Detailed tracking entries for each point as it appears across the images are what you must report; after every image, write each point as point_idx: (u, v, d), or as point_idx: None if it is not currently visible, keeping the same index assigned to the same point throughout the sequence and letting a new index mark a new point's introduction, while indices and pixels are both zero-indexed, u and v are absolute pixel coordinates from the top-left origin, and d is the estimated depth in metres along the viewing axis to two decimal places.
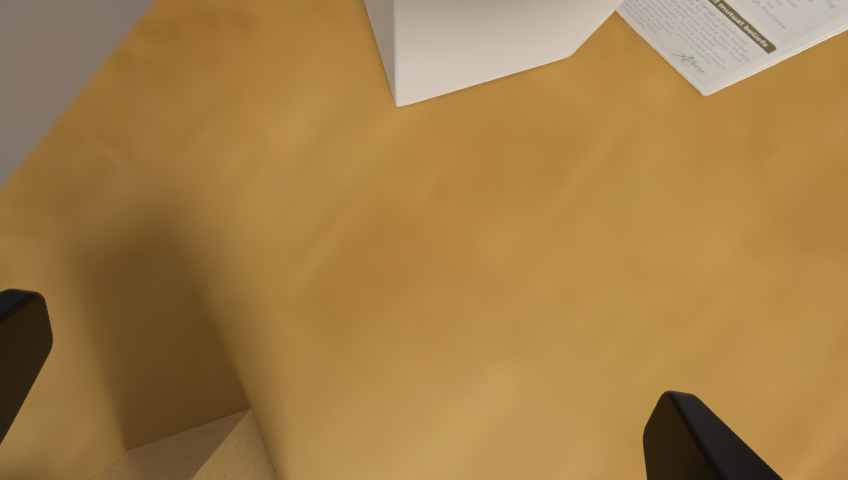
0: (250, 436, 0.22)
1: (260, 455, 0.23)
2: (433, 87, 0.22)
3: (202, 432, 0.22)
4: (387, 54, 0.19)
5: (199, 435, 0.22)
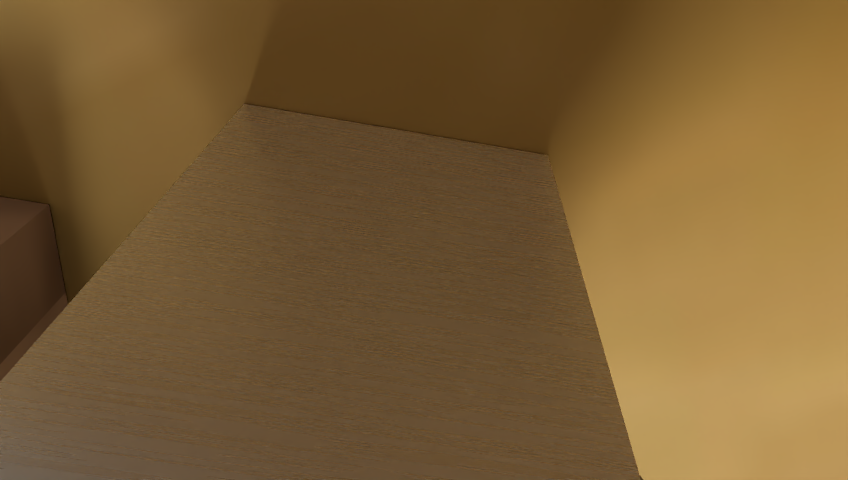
0: None
1: None
2: None
3: (457, 178, 0.09)
4: None
5: (456, 188, 0.09)
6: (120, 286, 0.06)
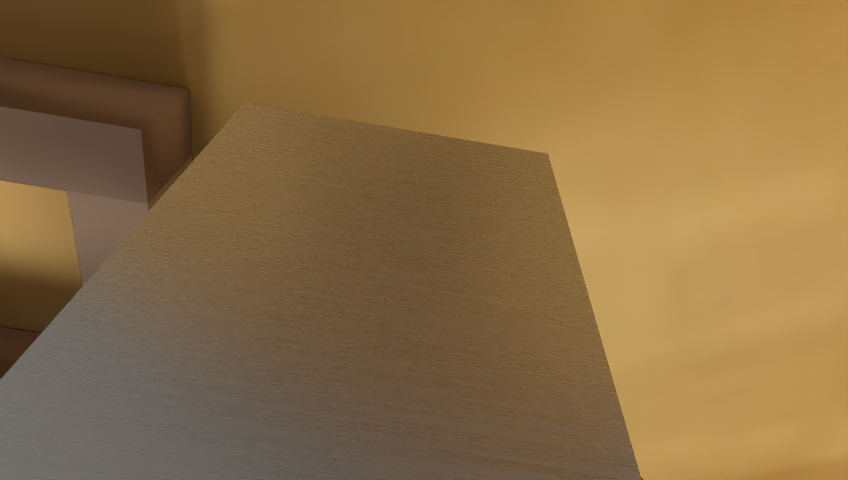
0: None
1: None
2: None
3: (457, 177, 0.09)
4: None
5: (456, 186, 0.09)
6: (121, 284, 0.06)
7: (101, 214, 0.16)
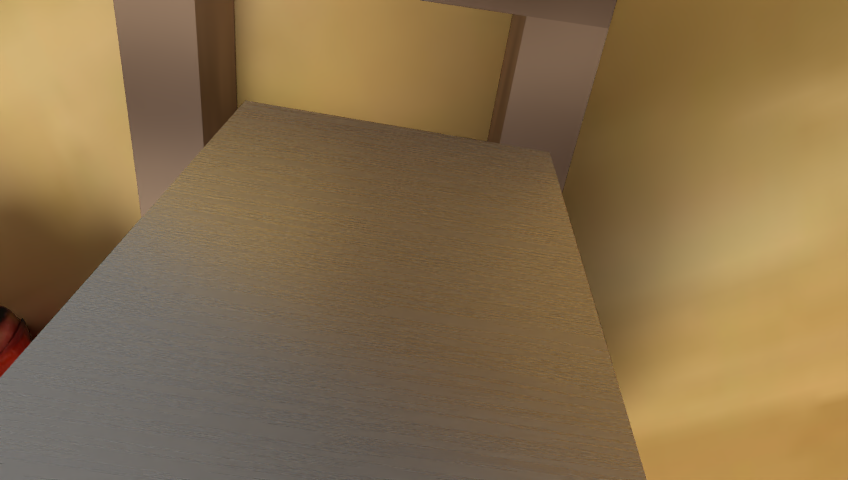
0: None
1: None
2: None
3: (459, 175, 0.09)
4: None
5: (458, 184, 0.09)
6: (121, 282, 0.06)
7: (554, 43, 0.15)
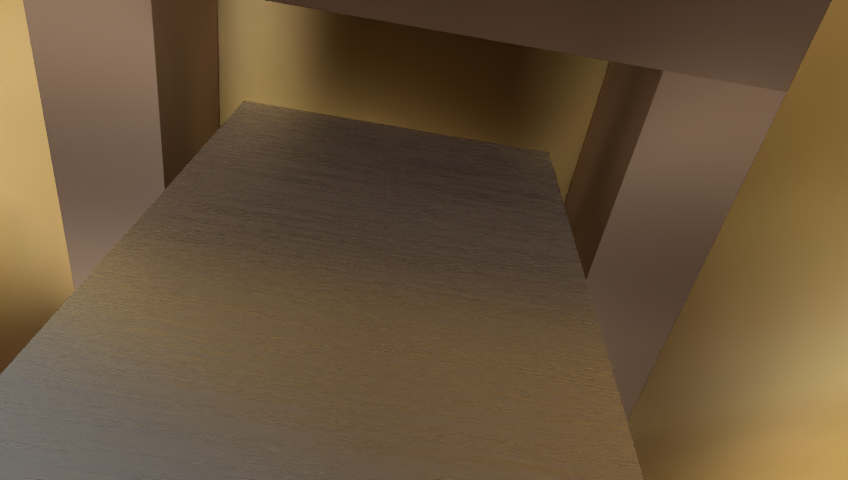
0: None
1: None
2: None
3: (458, 175, 0.09)
4: None
5: (456, 185, 0.09)
6: (118, 282, 0.06)
7: (699, 111, 0.10)
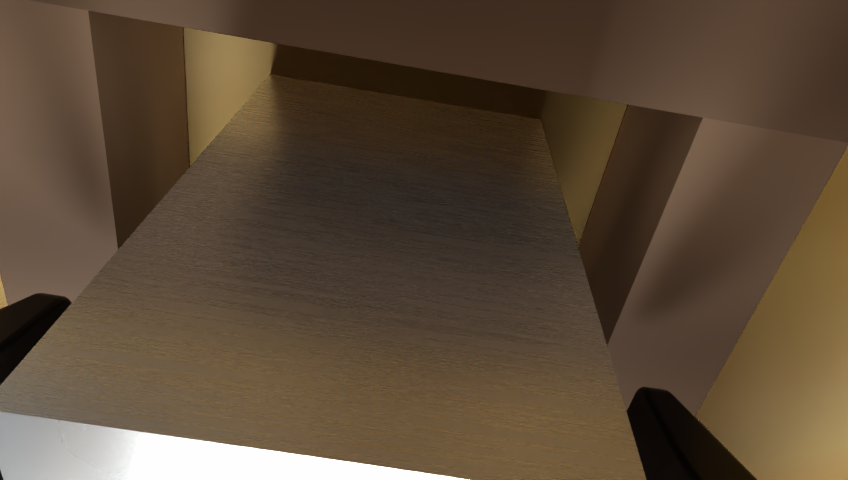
0: None
1: None
2: None
3: (460, 136, 0.10)
4: None
5: (459, 143, 0.10)
6: (184, 208, 0.07)
7: (744, 163, 0.08)
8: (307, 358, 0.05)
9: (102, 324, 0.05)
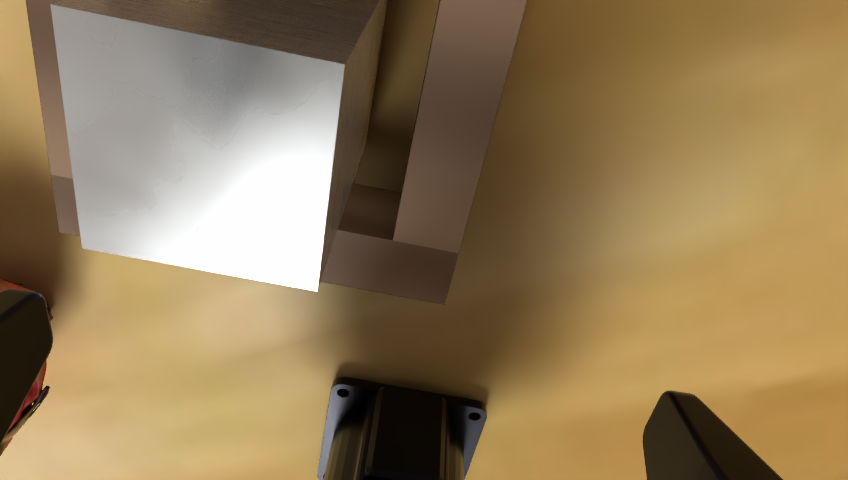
0: (381, 18, 0.17)
1: (378, 46, 0.18)
2: None
3: None
4: None
5: None
6: None
7: None
8: (200, 17, 0.11)
9: None
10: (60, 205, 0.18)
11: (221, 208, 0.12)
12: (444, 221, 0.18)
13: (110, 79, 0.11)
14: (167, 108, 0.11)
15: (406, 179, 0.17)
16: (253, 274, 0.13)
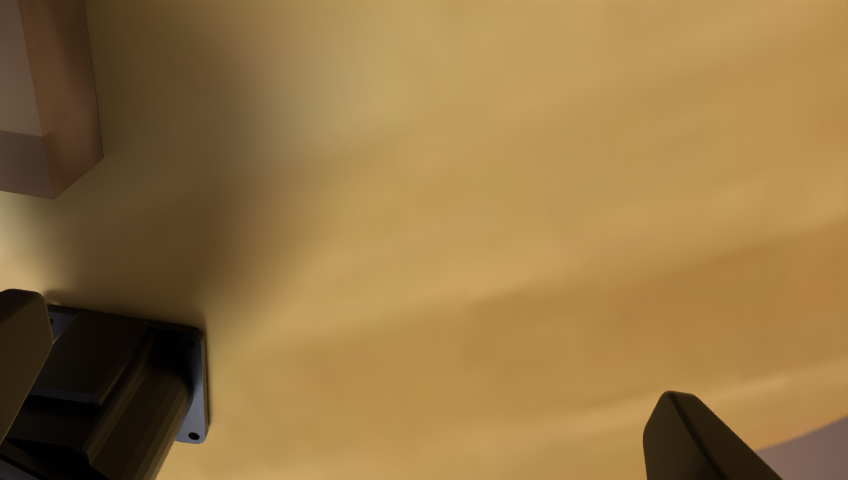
0: None
1: None
2: None
3: None
4: None
5: None
6: None
7: None
8: None
9: None
10: None
11: None
12: (12, 99, 0.17)
13: None
14: None
15: None
16: None
